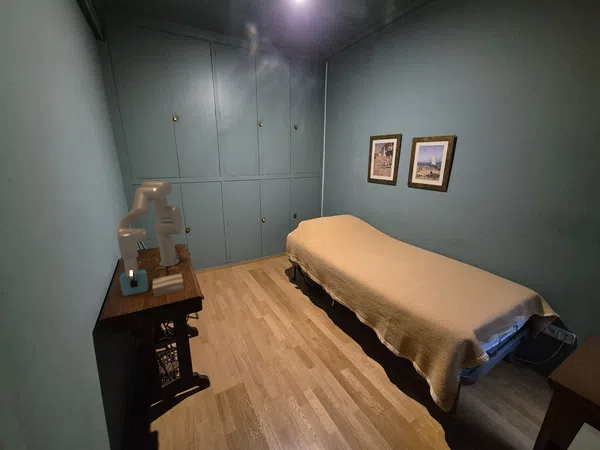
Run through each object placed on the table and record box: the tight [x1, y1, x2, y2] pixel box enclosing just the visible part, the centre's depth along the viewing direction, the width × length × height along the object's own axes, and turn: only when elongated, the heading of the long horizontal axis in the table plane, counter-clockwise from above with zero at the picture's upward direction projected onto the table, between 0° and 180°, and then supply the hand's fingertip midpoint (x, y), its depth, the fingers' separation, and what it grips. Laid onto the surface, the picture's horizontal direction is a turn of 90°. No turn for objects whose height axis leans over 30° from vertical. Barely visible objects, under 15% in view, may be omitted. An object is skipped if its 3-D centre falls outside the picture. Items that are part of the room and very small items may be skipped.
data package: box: [119, 269, 150, 297], centre depth 132 cm, size 12×4×12 cm, turn 118°
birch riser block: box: [152, 272, 185, 298], centre depth 137 cm, size 13×15×5 cm
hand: (135, 283), depth 133 cm, fingers open, 8 cm apart
